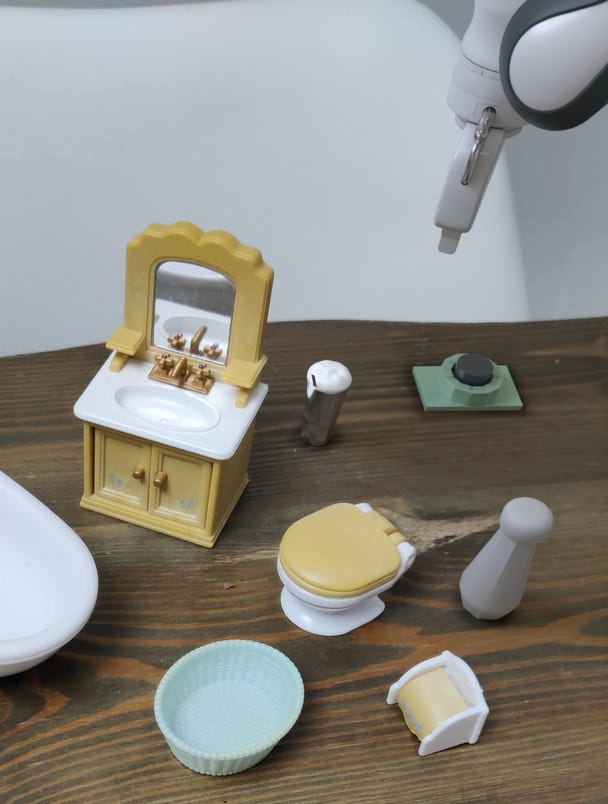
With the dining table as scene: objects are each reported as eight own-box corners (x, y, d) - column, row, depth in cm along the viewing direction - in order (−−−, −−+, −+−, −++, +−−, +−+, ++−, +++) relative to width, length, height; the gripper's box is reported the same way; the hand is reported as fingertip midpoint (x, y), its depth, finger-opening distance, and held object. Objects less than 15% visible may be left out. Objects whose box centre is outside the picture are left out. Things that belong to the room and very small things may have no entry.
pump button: (484, 364, 112) (488, 352, 111) (493, 387, 110) (497, 376, 108) (449, 364, 112) (453, 353, 110) (457, 387, 109) (462, 376, 108)
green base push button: (504, 370, 115) (511, 352, 113) (521, 410, 111) (528, 393, 108) (411, 371, 114) (417, 353, 112) (425, 411, 110) (431, 394, 108)
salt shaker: (450, 620, 93) (495, 527, 82) (453, 575, 96) (497, 480, 86) (513, 633, 92) (567, 541, 82) (514, 587, 95) (565, 492, 85)
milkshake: (281, 437, 107) (295, 363, 99) (313, 416, 109) (330, 341, 101) (312, 459, 105) (329, 385, 97) (344, 437, 107) (364, 363, 99)
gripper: (514, 146, 84) (466, 288, 95) (550, 48, 95) (504, 185, 106) (441, 131, 85) (403, 272, 97) (485, 35, 96) (446, 172, 108)
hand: (456, 225), depth 102 cm, fingers open, 8 cm apart
